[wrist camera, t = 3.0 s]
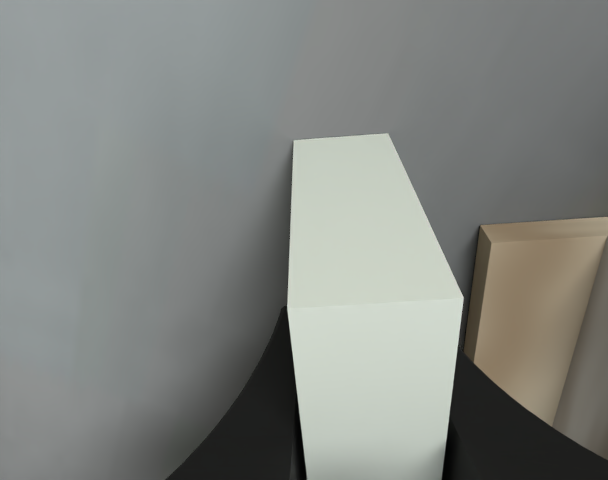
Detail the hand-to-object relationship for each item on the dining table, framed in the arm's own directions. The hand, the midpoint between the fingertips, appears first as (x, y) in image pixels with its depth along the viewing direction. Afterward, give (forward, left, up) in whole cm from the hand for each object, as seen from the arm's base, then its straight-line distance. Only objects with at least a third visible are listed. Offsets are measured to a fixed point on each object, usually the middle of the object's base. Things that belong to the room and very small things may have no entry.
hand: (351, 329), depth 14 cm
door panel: (0, 0, -2) cm, 2 cm away
